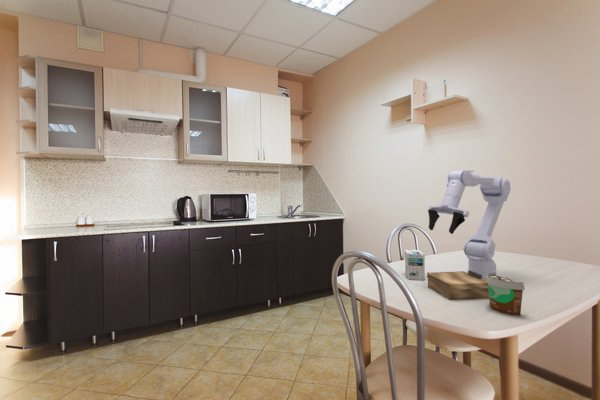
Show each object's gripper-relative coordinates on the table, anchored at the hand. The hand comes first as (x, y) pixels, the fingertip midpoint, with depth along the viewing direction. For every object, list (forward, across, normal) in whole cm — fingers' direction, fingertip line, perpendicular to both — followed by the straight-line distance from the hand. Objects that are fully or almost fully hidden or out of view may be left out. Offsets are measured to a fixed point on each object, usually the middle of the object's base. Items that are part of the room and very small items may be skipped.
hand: (440, 230), depth 113 cm
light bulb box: (+15, -14, +20) cm, 29 cm away
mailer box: (+17, +7, +13) cm, 23 cm away
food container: (+20, +22, +6) cm, 31 cm away
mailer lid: (+14, +7, +11) cm, 19 cm away
